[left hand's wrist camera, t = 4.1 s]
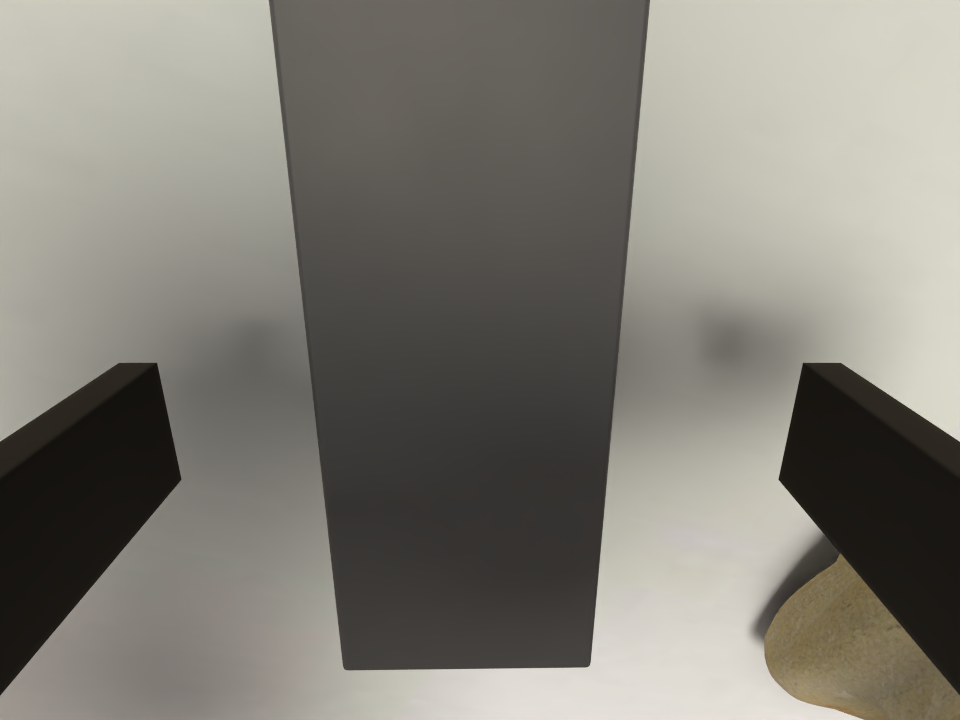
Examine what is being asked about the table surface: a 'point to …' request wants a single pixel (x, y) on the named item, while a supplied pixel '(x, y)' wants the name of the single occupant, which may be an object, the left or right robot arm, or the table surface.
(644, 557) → the table surface
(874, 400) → the left robot arm
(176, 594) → the table surface
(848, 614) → the sculpture
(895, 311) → the table surface
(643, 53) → the beam
